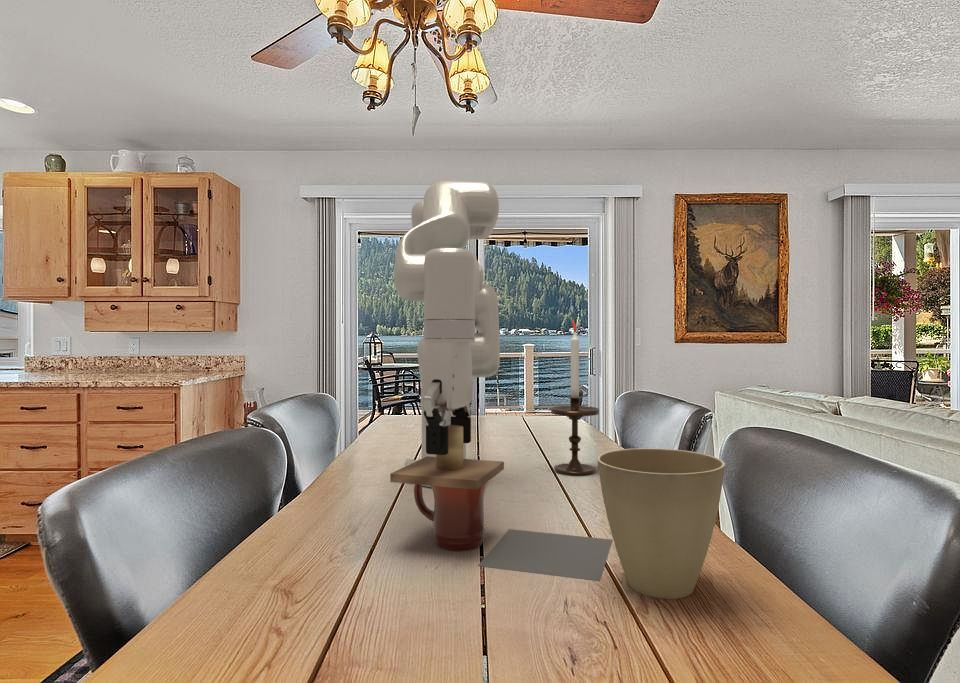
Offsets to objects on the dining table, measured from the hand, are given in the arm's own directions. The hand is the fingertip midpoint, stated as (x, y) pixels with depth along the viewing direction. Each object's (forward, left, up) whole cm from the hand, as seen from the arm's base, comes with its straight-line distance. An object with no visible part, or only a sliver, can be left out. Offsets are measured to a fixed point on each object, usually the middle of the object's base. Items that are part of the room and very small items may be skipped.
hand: (449, 448), depth 89 cm
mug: (0, 0, -14) cm, 14 cm away
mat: (+15, 0, -14) cm, 21 cm away
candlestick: (+10, +54, -14) cm, 57 cm away
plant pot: (+30, -7, -14) cm, 34 cm away
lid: (0, 0, -4) cm, 4 cm away
